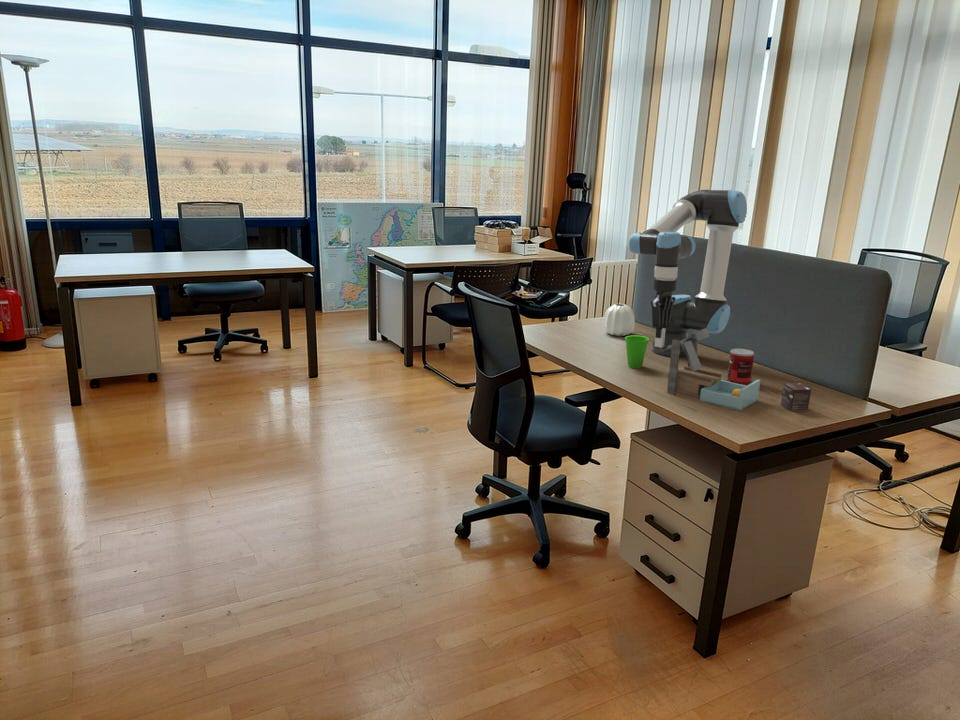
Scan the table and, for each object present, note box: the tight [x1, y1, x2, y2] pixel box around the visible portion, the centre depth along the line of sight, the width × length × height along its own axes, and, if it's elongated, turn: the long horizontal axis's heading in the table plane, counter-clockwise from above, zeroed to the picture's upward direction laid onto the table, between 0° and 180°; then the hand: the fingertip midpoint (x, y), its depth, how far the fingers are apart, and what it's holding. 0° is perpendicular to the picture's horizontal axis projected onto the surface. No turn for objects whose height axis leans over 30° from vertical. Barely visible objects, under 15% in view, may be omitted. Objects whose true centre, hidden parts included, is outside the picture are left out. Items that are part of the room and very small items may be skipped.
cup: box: [624, 334, 650, 369], centre depth 257 cm, size 9×9×11 cm
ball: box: [732, 389, 741, 397], centre depth 221 cm, size 4×4×4 cm
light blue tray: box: [699, 379, 761, 412], centre depth 222 cm, size 14×14×7 cm
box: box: [780, 382, 812, 412], centre depth 216 cm, size 6×6×7 cm
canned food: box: [727, 348, 755, 385], centre depth 241 cm, size 8×8×11 cm
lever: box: [653, 328, 711, 371], centre depth 230 cm, size 11×19×12 cm
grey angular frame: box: [667, 331, 723, 398], centre depth 229 cm, size 14×15×18 cm
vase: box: [602, 303, 636, 337], centre depth 304 cm, size 14×14×13 cm
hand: (659, 346), depth 236 cm, fingers closed
